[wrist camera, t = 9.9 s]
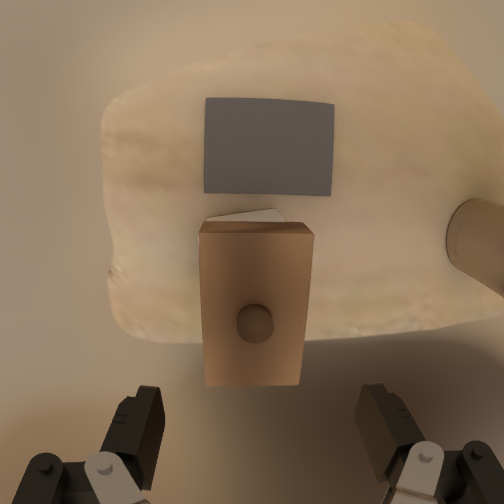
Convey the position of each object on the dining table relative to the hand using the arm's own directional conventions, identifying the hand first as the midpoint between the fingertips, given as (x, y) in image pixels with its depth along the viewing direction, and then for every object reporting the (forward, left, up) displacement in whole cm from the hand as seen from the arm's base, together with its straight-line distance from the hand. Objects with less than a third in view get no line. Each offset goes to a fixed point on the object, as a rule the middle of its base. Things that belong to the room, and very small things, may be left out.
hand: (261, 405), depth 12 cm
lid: (0, 0, -10) cm, 10 cm away
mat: (-2, -10, -22) cm, 24 cm away
